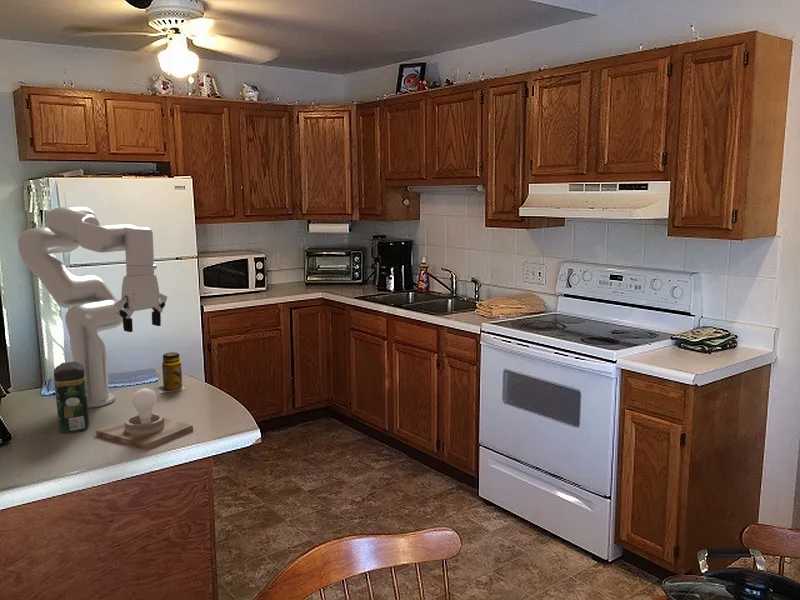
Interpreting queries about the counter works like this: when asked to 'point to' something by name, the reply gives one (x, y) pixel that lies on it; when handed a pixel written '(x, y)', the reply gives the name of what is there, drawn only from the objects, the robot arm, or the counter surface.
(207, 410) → the counter surface
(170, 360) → the condiment
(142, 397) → the lightbulb
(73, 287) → the robot arm
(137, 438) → the socket board
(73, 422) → the coffee jar
